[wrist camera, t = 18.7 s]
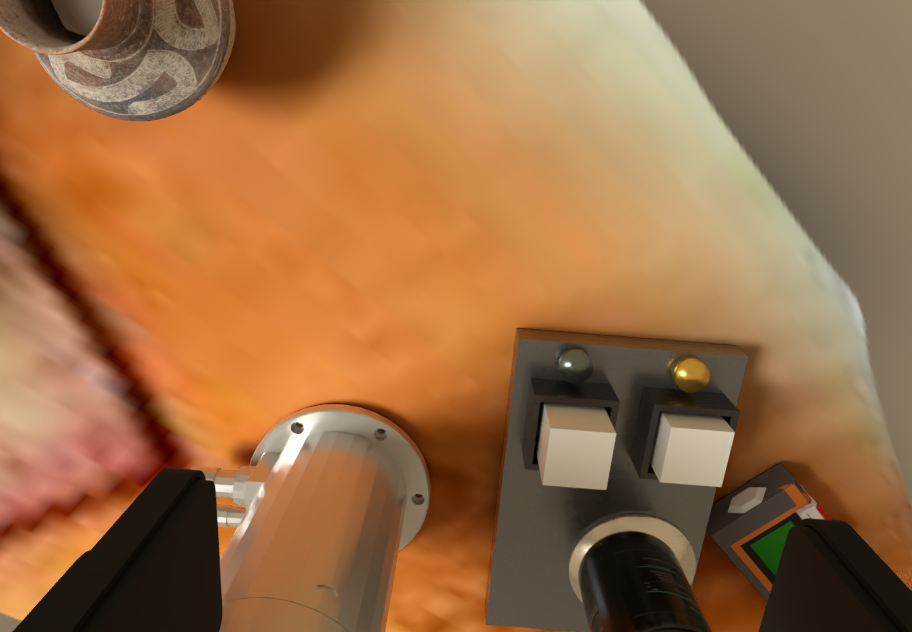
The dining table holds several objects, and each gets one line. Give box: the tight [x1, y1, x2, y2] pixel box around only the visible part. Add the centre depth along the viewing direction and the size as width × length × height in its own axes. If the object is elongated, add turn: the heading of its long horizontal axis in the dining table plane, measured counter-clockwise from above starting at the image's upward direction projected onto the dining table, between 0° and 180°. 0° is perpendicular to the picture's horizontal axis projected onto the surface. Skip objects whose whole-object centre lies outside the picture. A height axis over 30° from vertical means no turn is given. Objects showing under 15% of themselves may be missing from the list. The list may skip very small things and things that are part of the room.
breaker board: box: [485, 328, 748, 632], centre depth 40 cm, size 14×22×4 cm, turn 176°
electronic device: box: [707, 463, 829, 602], centre depth 42 cm, size 7×3×15 cm
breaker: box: [536, 402, 616, 490], centre depth 35 cm, size 4×4×4 cm
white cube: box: [650, 411, 735, 487], centre depth 36 cm, size 4×4×4 cm
